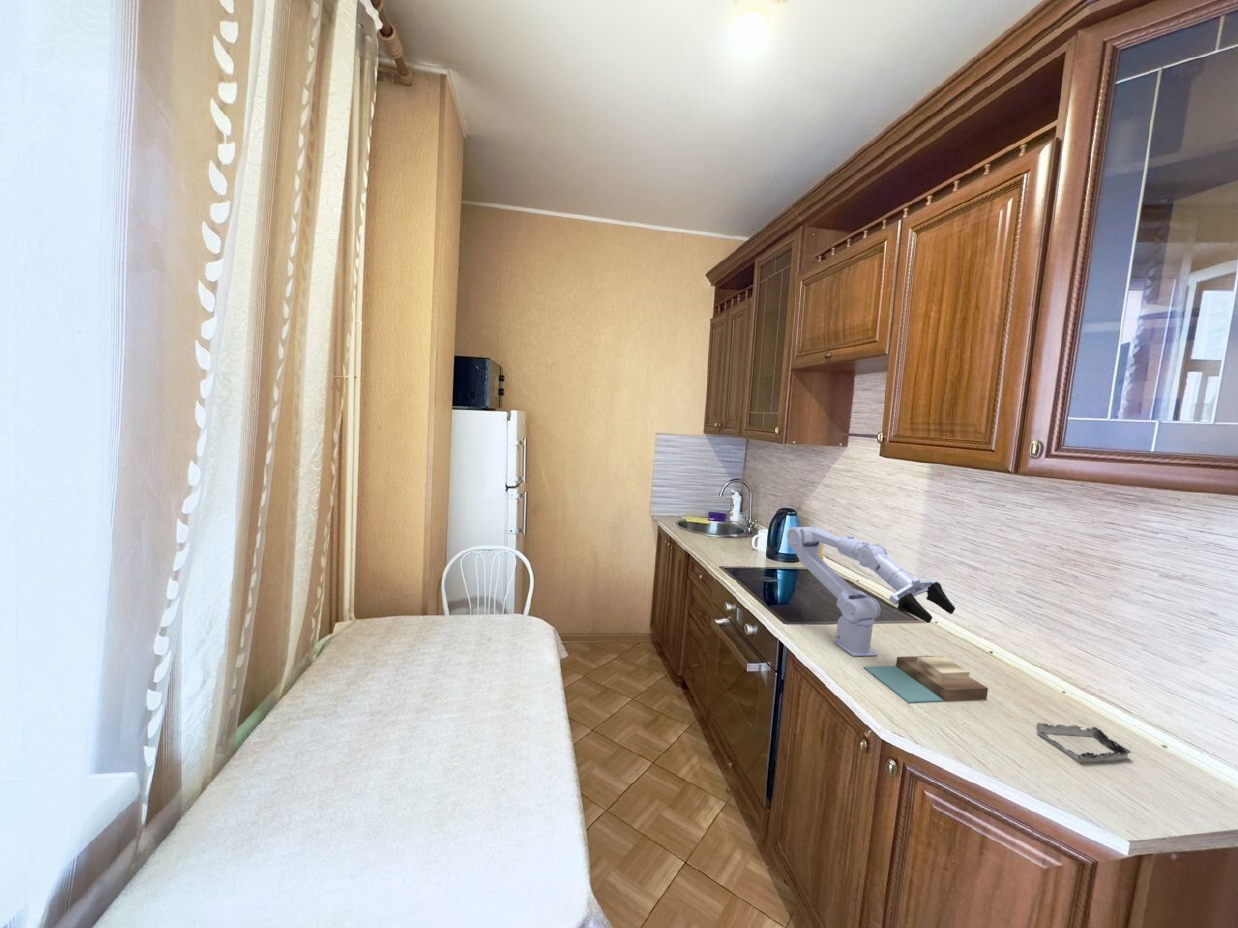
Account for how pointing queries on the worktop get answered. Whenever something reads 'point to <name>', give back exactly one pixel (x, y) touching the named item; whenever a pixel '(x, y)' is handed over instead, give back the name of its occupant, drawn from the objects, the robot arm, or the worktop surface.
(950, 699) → the walnut board
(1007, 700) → the worktop surface
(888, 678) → the rubber mat
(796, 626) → the worktop surface
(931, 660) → the cream square slab
